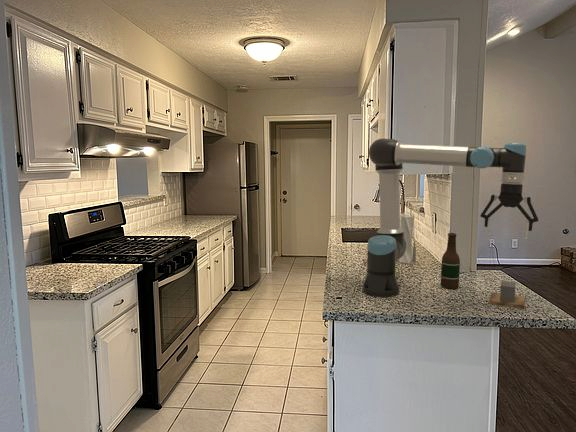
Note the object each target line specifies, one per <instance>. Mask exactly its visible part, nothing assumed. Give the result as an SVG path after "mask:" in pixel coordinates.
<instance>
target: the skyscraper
mask: <svg viewBox="0 0 576 432" xmlns="http://www.w3.org/2000/svg"><path fill="white" fill-rule="evenodd" d="M414 224H415V216H414V214H413V213H412V212H410V211H404V212H403V213H400V228H401V229H402V230H403V231H404V239H405V241H406V251H405V253H404V255H403V256H402V257H401V258H399V259H398V261H399V262H398V263H399V264H403V265H405V264H406V265H414V264H416V263H417V260H416V259H417V258H416V256H417V255H416V254H417V253H416V250H417V246H416V239H414V242H413V247H412V237H413V233H414Z"/></svg>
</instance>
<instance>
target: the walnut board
mask: <svg viewBox="0 0 576 432" xmlns="http://www.w3.org/2000/svg"><path fill="white" fill-rule="evenodd" d="M488 303H489V305H497V306H504V307H510V308H517V309H525V296H523V295H515V298H514V303H513V302H506V301H500V293H498V292H493V291H491V292H490V296H489V302H488Z"/></svg>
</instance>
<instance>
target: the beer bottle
mask: <svg viewBox="0 0 576 432" xmlns="http://www.w3.org/2000/svg"><path fill="white" fill-rule="evenodd" d="M460 266H461V259H460V256H459V254H458V252H457V233H456V232H455V233H454V232H449V233H447V246H446V250H445V252H443V255H442V256H441V268H440V270H441V271H440V287H441V288H444V289H447V290H457V289H458V288H459V285H460V271H461V269H460V268H461V267H460ZM456 288H457V289H456Z"/></svg>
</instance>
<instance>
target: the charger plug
mask: <svg viewBox="0 0 576 432" xmlns="http://www.w3.org/2000/svg"><path fill="white" fill-rule="evenodd" d="M500 283H501V284H500V301H506V302H513V303H514V298H515V294H516V282H514V281H510V280H509V281H508V280H501V282H500Z"/></svg>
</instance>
